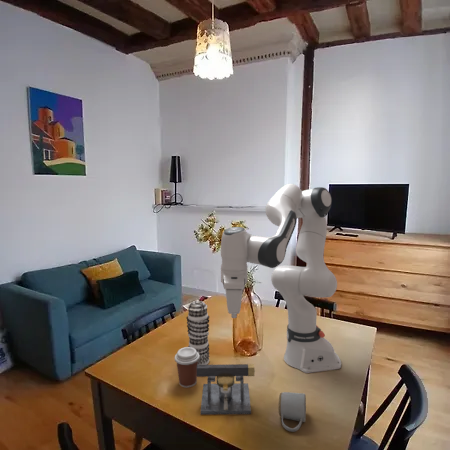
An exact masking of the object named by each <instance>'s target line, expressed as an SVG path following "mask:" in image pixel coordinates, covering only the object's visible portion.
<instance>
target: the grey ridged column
mask: <svg viewBox="0 0 450 450" xmlns="http://www.w3.org/2000/svg"><path fill="white" fill-rule="evenodd" d="M187 309H188V311H187V313H188V314H187V316H186V317H185V318H186V321H187V322H186V324H187V325H186V327H187V332H188V333H187V337H189V338H188V339H189V340H188V346H187V347H192V348H194V349H196V351H197V352H198V353H199V355H200V358H199V360H198V365H209V362H210V352H209V351H210V344H209V338H208V337H209V334H210V333H209V331H210V315H208V314H209V313H208V305H207V304H206V303H205V302H204V301H203V300H194V301H192V302H190V303H189V305H187Z"/></svg>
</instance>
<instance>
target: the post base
mask: <svg viewBox="0 0 450 450" xmlns="http://www.w3.org/2000/svg"><path fill="white" fill-rule="evenodd" d="M216 378H217V376H210V377H207V383H203V387H202V396H201V405H200V415H204V416H207V415H214V416H215V415H251V414H252V409H251V398H250V389H249V383H244V380H245V379H244V378H245V377H244V376H235V382H238V383H234V385H233V386H231V387H229V388H228V391H223V388H222V387H220V386H218V385H217V383H212V382H216Z"/></svg>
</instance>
